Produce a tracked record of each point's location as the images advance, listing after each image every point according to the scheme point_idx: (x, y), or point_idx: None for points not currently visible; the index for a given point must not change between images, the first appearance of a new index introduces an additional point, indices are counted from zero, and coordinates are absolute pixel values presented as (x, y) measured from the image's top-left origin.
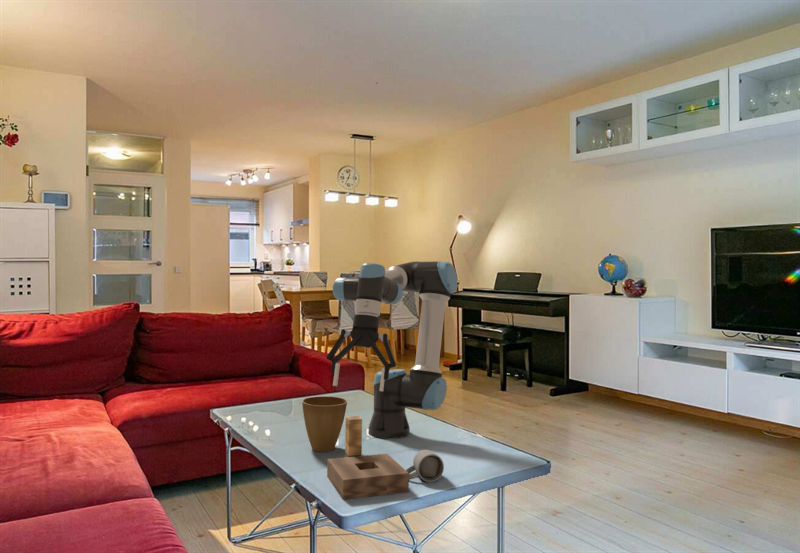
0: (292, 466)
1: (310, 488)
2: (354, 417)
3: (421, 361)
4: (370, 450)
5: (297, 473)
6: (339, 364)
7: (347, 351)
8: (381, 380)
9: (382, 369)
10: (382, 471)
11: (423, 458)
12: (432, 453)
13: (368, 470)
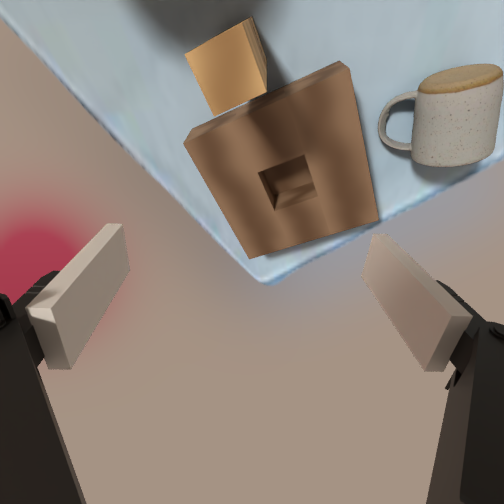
0: (71, 52)
1: (181, 197)
2: (227, 64)
3: None
4: None
5: (115, 112)
6: (61, 322)
7: (72, 469)
8: (389, 310)
9: (423, 362)
10: (323, 216)
11: (439, 166)
12: (476, 153)
13: (293, 212)
